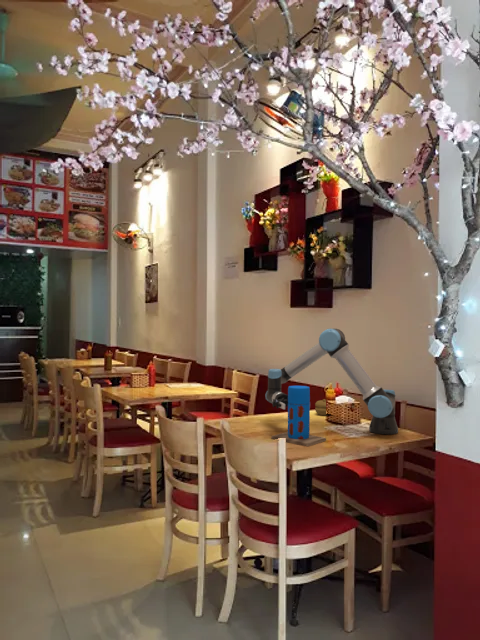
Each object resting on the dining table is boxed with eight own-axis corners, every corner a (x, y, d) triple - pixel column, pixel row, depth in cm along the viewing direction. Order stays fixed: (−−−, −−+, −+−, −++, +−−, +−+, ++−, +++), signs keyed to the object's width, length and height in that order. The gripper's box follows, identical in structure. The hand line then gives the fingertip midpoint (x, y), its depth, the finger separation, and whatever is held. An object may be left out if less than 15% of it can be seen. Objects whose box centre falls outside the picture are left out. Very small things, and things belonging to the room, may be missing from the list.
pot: (331, 413, 336) (331, 397, 336) (335, 416, 324) (335, 400, 324) (313, 413, 336) (313, 397, 336) (316, 416, 324) (316, 400, 324)
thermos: (311, 439, 256) (311, 388, 256) (289, 439, 255) (290, 388, 255) (306, 434, 267) (307, 385, 267) (286, 434, 266) (286, 385, 266)
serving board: (325, 441, 259) (326, 438, 259) (307, 446, 248) (307, 443, 248) (290, 433, 274) (290, 431, 274) (271, 438, 263) (271, 435, 263)
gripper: (301, 405, 286) (319, 412, 266) (259, 407, 279) (273, 414, 259) (302, 392, 286) (319, 397, 266) (259, 393, 279) (274, 399, 259)
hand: (297, 406), depth 262 cm, fingers open, 13 cm apart
